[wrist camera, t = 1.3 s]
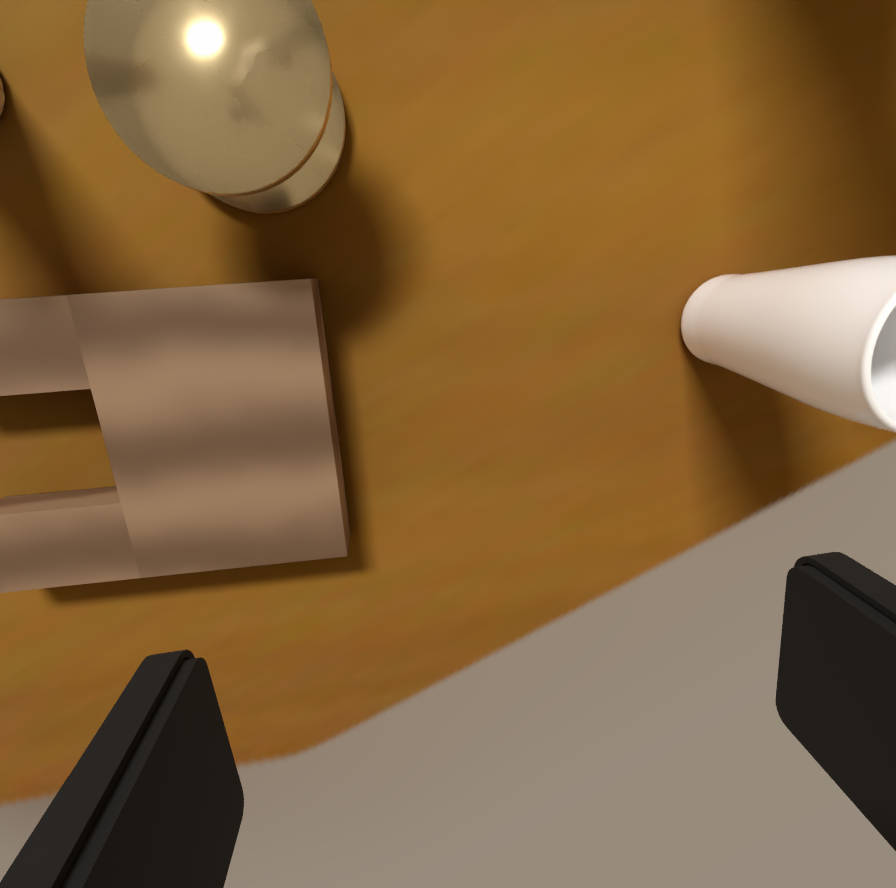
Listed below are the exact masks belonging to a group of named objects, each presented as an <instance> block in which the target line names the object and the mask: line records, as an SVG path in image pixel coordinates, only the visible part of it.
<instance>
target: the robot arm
mask: <svg viewBox="0 0 896 888" xmlns="http://www.w3.org/2000/svg"><path fill="white" fill-rule="evenodd" d="M776 706H777V710H778V713H779V716H780V718H781V719H782V721H783V723H784V724H785V725H786V727H787V728H788V729H789V730H790V731H791V733H792V734H793V735H794V736H795V737H796V738H797V739H798V740H799V742H800V743H801V744H802V745H803V746H804V747H805V748H806V749H807V751H808V752H809V753H810V754H811V755H812V756H813V758H814V759H815V760H816V761H817V762H818V763H819V764H820V766H821V767H822V768H823V769H824V770H825V771H826V772H827V773H828V774H829V776H830V777H831V778H832V779H833V780H834V781H835V783H837V785H838V786H839V787H840V788H841V789H842V791H843V792H844V793H845V794H846V795H847V796H848V797H849V798H850V800H851V801H852V802H853V803H854V804H855V805H856V806H857V808H858V809H859V810H860V811H861V812H862V813H863V814H864V816H865V817H866V818H867V819H868V820H869V821H870V822H871V824H872V825H873V826H874V827H875V828H876V829H877V830H878V831H879V833H880V834H881V835H882V836H883V837H884V838H885V839H886V840H887V842H888V843H889V844H890V845H891V846H892V847H893V849H894V850H895V851H896V586H895V585H894V584H892V583H891V582H889V581H888V580H886V579H884V578H883V577H881V576H879V575H878V574H876V573H874V572H873V571H871V570H870V569H868V568H866V567H865V566H863V565H861V564H860V563H858V562H856V561H855V560H853V559H852V558H850V557H848V556H847V555H845V554H842V553H840V552H831V553H824V554H817V555H811V556H805V557H801V558H799V559H798V560H797V561H796V563H795V566H794V567H793V568H791V569H790V570H789V572H788V575H787V582H786V592H785V603H784V614H783V625H782V636H781V647H780V658H779V669H778V680H777V691H776ZM243 808H244V797H243V790H242V786H241V782H240V779H239V775H238V772H237V768H236V765H235V761H234V757H233V754H232V750H231V747H230V743H229V740H228V736H227V733H226V729H225V726H224V722H223V719H222V715H221V712H220V708H219V705H218V701H217V698H216V694H215V691H214V687H213V684H212V680H211V677H210V673H209V670H208V666H207V663H206V661H205V660H204V659H203V658H195V657H194V655H193V654H192V652H191V651H189V650H181V651H175V652H168V653H161V654H155V655H150V656H147V657H146V658H145V659H144V660H143V661H142V663H141V664H140V666H139V667H138V669H137V671H136V672H135V674H134V675H133V677H132V678H131V680H130V682H129V683H128V685H127V686H126V688H125V689H124V691H123V692H122V694H121V696H120V697H119V699H118V700H117V702H116V703H115V705H114V707H113V708H112V710H111V711H110V713H109V714H108V716H107V717H106V719H105V721H104V722H103V724H102V725H101V727H100V728H99V730H98V731H97V733H96V735H95V736H94V738H93V739H92V741H91V742H90V744H89V746H88V747H87V749H86V750H85V752H84V753H83V755H82V756H81V758H80V760H79V761H78V763H77V764H76V766H75V767H74V769H73V770H72V772H71V774H70V775H69V776H68V778H67V779H66V781H65V782H64V784H63V785H62V787H61V788H60V790H59V792H58V793H57V795H56V796H55V798H54V799H53V801H52V802H51V804H50V806H49V807H48V809H47V810H46V812H45V813H44V815H43V817H42V818H41V820H40V822H39V823H38V824H37V826H36V827H35V829H34V831H33V832H32V834H31V835H30V837H29V838H28V840H27V841H26V843H25V845H24V846H23V848H22V849H21V851H20V852H19V854H18V856H17V857H16V859H15V860H14V862H13V864H12V865H11V866H10V868H9V869H8V871H7V873H6V874H5V876H4V877H3V879H2V881H1V882H0V888H223V887H224V883H225V880H226V875H227V872H228V869H229V864H230V861H231V858H232V854H233V850H234V846H235V843H236V839H237V835H238V832H239V828H240V824H241V821H242V816H243Z"/></svg>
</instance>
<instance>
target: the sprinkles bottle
mask: <svg viewBox="0 0 896 888" xmlns="http://www.w3.org/2000/svg"><path fill="white" fill-rule="evenodd" d="M4 102H5V95H4V91H3V85H2V81H1V78H0V116H1V113H2V111H3V106H4Z"/></svg>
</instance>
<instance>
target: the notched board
mask: <svg viewBox="0 0 896 888" xmlns="http://www.w3.org/2000/svg"><path fill="white" fill-rule="evenodd" d="M82 389H91V391H92V395H93V399H94V403H95V407H96V411H97V414H98V418H99V422H100V426H101V430H102V433H103V437H104V441H105V445H106V449H107V453H108V456H109V460H110V464H111V468H112V472H113V475H114V479H115V483H116V486H115V487H104V488H93V489H83V490H72V491H61V492H50V493H40V494H29V495H18V496H7V497H4V498H2V499H0V593H4V592H13V591H23V590H32V589H42V588H51V587H61V586H70V585H80V584H89V583H99V582H108V581H118V580H127V579H137V578H146V577H156V576H165V575H175V574H184V573H194V572H203V571H213V570H222V569H232V568H241V567H251V566H260V565H270V564H279V563H289V562H298V561H308V560H317V559H327V558H336V557H345V556H348V549H349V542H350V536H351V532H350V524H349V516H348V508H347V501H346V493H345V485H344V477H343V470H342V462H341V454H340V446H339V439H338V431H337V423H336V415H335V408H334V400H333V392H332V384H331V377H330V369H329V361H328V353H327V346H326V338H325V330H324V322H323V315H322V307H321V299H320V291H319V284H318V278H313V279H297V280H282V281H268V282H253V283H238V284H223V285H208V286H193V287H178V288H163V289H148V290H133V291H118V292H104V293H89V294H74V295H59V296H44V297H29V298H14V299H0V396H7V395H20V394H32V393H45V392H57V391H70V390H82Z"/></svg>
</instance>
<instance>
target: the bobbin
mask: <svg viewBox="0 0 896 888" xmlns="http://www.w3.org/2000/svg"><path fill="white" fill-rule="evenodd" d="M84 51H85V57H86V63H87V69H88V73H89V76H90V80H91V84H92V87H93V90H94V92H95V94H96V97H97V99H98V102H99V104H100V106H101V108H102V110H103V112H104V114H105V115H106V117H107V119H108V121H109V122H110V124H111V125H112V127H113V128H114V130H115V131H116V132H117V134H118V135H119V137H120V138H121V139H122V140H123V141H124V142H125V144H126V145H127V146H128V147H129V148H130V149H131V150H132V151H133V152H134V153H135V154H136V155H137V156H138V157H139V158H140V159H141V160H142V161H144V162H145V163H146V164H148V165H149V166H150V167H152V168H153V169H154V170H156V171H157V172H159V173H161V174H162V175H164V176H166V177H168V178H169V179H171V180H173V181H175V182H178V183H180V184H182V185H185V186H187V187H189V188H192V189H194V190H197V191H201V192H204V193H208V194H210V195H211V196H213V197H215V198H217V199H218V200H220V201H222V202H224V203H226V204H229V205H231V206H233V207H236V208H238V209H241V210H245V211H248V212H254V213H261V214H273V213H281V212H285V211H289V210H293V209H295V208H297V207H300V206H302V205H304V204H306V203H307V202H309V201H310V200H312V199H313V198H314V197H316V196H317V195H318V194H319V193H320V192H321V191H322V190H323V189H324V188H325V187H326V186H327V184H328V183H329V182H330V180H331V179H332V177H333V175H334V174H335V172H336V170H337V168H338V166H339V163H340V160H341V157H342V154H343V150H344V144H345V136H346V118H345V111H344V105H343V101H342V97H341V94H340V90H339V87H338V84H337V81H336V79H335V76H334V74H333V72H332V66H331V60H330V54H329V50H328V46H327V42H326V39H325V35H324V32H323V28H322V25H321V22H320V20H319V18H318V15H317V13H316V10H315V8H314V6H313V4H312V2H311V0H88V3H87V8H86V12H85V21H84Z"/></svg>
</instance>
